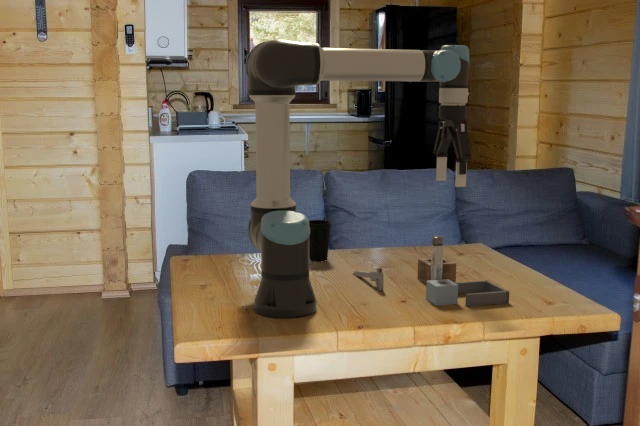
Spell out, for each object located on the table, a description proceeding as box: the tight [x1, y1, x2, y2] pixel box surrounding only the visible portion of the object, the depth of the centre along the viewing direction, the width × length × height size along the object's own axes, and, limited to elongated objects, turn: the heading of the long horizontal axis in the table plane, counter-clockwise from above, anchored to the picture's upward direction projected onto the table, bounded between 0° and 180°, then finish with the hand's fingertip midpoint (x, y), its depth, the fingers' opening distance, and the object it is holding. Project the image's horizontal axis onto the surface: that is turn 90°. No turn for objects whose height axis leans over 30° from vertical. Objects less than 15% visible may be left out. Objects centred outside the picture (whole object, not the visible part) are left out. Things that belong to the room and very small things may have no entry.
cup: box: [309, 219, 332, 263], centre depth 240 cm, size 8×8×12 cm
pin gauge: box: [430, 235, 445, 280], centre depth 202 cm, size 3×3×15 cm
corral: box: [455, 279, 510, 307], centre depth 197 cm, size 12×12×3 cm
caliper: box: [352, 267, 385, 292], centre depth 213 cm, size 20×1×6 cm, turn 18°
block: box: [425, 279, 459, 306], centre depth 195 cm, size 6×6×5 cm
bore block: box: [417, 256, 457, 285], centre depth 214 cm, size 8×8×6 cm
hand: (450, 183), depth 208 cm, fingers open, 13 cm apart
